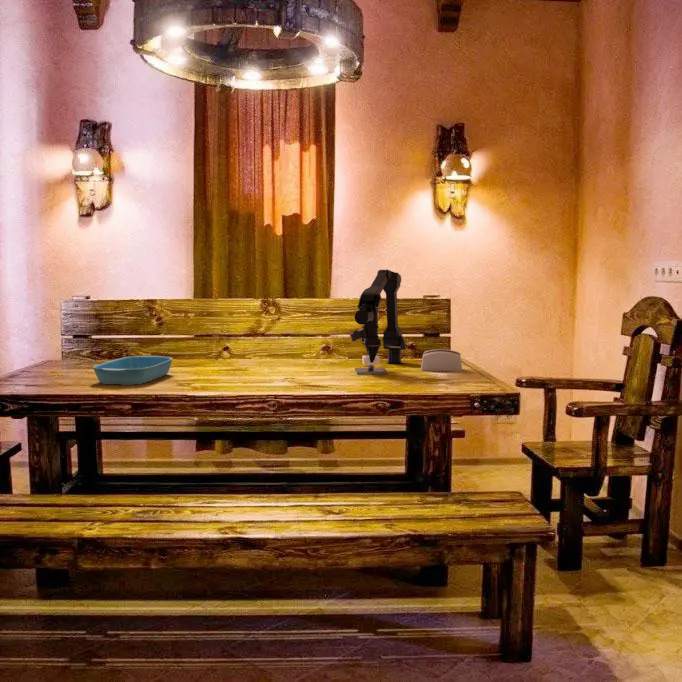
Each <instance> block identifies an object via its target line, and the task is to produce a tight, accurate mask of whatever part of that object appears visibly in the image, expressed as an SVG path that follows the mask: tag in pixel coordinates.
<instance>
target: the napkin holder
mask: <svg viewBox="0 0 682 682" xmlns="http://www.w3.org/2000/svg"><path fill="white" fill-rule="evenodd" d="M420 371H428V372H429V371H431V372H432V371H433V372H435V371H437V372H440V371H441V372H463V364H462V356H461V353H460V352H459V351H456V350H454V349H447V348H436V349H429V350H425V351H424V352H423V354H422V359H421V366H420Z"/></svg>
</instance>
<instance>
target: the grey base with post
mask: <svg viewBox="0 0 682 682" xmlns="http://www.w3.org/2000/svg"><path fill="white" fill-rule="evenodd" d="M374 366H375V365H367V367H354V371H355V373H356V375H359V376H360V375H388V370H387V369H386V368H385V367H382V366H381V367H374Z"/></svg>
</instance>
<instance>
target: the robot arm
mask: <svg viewBox="0 0 682 682" xmlns="http://www.w3.org/2000/svg"><path fill="white" fill-rule="evenodd" d="M375 276H376V277H375V278H374V280H373V282H372V283H371V285H370V286H369V287H367V288H365V289H364V290H363V291H362V292H361V294H360V296H359V301H358V304H357V309H359V310H358V311H356V312H355V314H354V321H355V322H356V324H358V325H361V326H362V328H360V329H356V330H353V331H352V332H350V333H349V337H350V339H351V341H352V342H355V341H357V340H360V341H361V342H362V345H363V346H364V347H365V349H366V353H367V356H369V358H370V362H371V363H373V362H374V359H375V357H376V355H377V354H378V351H379V349H380V347H381V346H382V345H383V350H387V360H386V363H387V364H388V365H389V364H391V365H392V364H394V365H395V364H397V365H398V364H399V365H401V364H404V362H403V361H402V350H404V351H405V350H406V347H407V346H406V345H407V344H406V342H405V338H404V336H403V331H402V329H401V328H400V327H399V323H398V322H399V318H398V315H399V314H398V291H399V289H400V288H401V282H402V276H401V274H399V272H395V271H392V270H391V269H390V270H389V269H379V270H378V271H377V273H376V275H375ZM383 291H384V293H385V303H386V306H385V307H386V310H385V311H386V328H385V330H384V331H383V333H382V334H383V335H382V340H381V339H379V307H380V304H381V301H382V296H381V293H382V292H383Z"/></svg>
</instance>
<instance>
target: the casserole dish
mask: <svg viewBox="0 0 682 682" xmlns="http://www.w3.org/2000/svg"><path fill="white" fill-rule="evenodd" d="M172 361H173V357H171V356H162V355H136V356H124V357H121V358H116V359H113V360H110V361H105V362H103V363H98V364H96V365H94V366H92V368H93V371H94V374H95V376H96V378H97V380H98V382H100V383H101V384H102V385H106V384H121V385H120V386H135V385H134V384H139V385H142V384H143V383H144V384H147V383H149V381H150V382H153V381H155V380H158V379H160V378H162V376H163V377H164V375H165V376H166V375H167V374H168V373H169V372H170V369H171V365H172ZM159 377H160V378H159ZM157 378H158V379H157ZM154 379H155V380H154ZM152 380H153V381H152ZM146 382H147V383H146ZM144 384H143V385H144Z"/></svg>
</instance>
